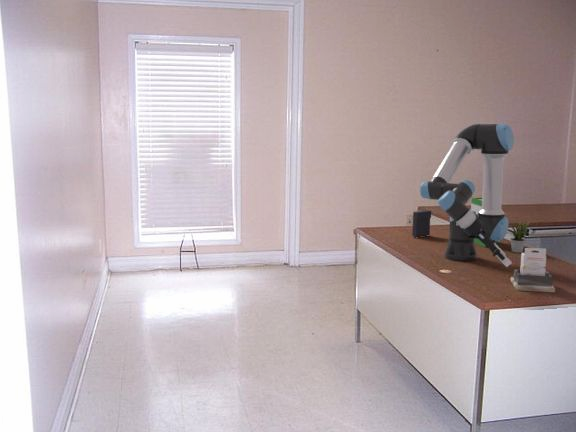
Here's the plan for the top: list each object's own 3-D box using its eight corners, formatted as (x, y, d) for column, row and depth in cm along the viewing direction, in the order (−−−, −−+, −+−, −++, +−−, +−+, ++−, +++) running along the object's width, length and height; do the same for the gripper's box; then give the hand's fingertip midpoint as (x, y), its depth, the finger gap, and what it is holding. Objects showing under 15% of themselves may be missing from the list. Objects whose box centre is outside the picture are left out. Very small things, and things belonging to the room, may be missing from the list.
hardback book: (497, 246, 288) (500, 202, 284) (484, 247, 287) (487, 202, 283) (481, 239, 306) (484, 197, 301) (469, 240, 305) (471, 197, 300)
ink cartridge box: (541, 280, 221) (544, 245, 219) (544, 284, 216) (547, 248, 214) (519, 280, 223) (521, 245, 220) (522, 283, 218) (524, 247, 215)
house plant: (514, 246, 288) (516, 216, 286) (538, 251, 277) (540, 220, 274) (497, 250, 281) (499, 219, 278) (521, 255, 269) (523, 223, 267)
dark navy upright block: (424, 234, 319) (425, 209, 316) (430, 236, 315) (431, 210, 313) (411, 237, 313) (412, 211, 310) (416, 238, 309) (417, 212, 307)
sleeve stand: (510, 280, 228) (511, 267, 227) (546, 282, 225) (547, 269, 224) (516, 290, 214) (517, 276, 213) (555, 292, 211) (556, 278, 210)
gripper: (459, 223, 234) (494, 258, 233) (465, 235, 210) (504, 274, 209) (473, 211, 232) (508, 247, 231) (480, 222, 208) (519, 262, 207)
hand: (506, 260), depth 220 cm, fingers open, 13 cm apart
